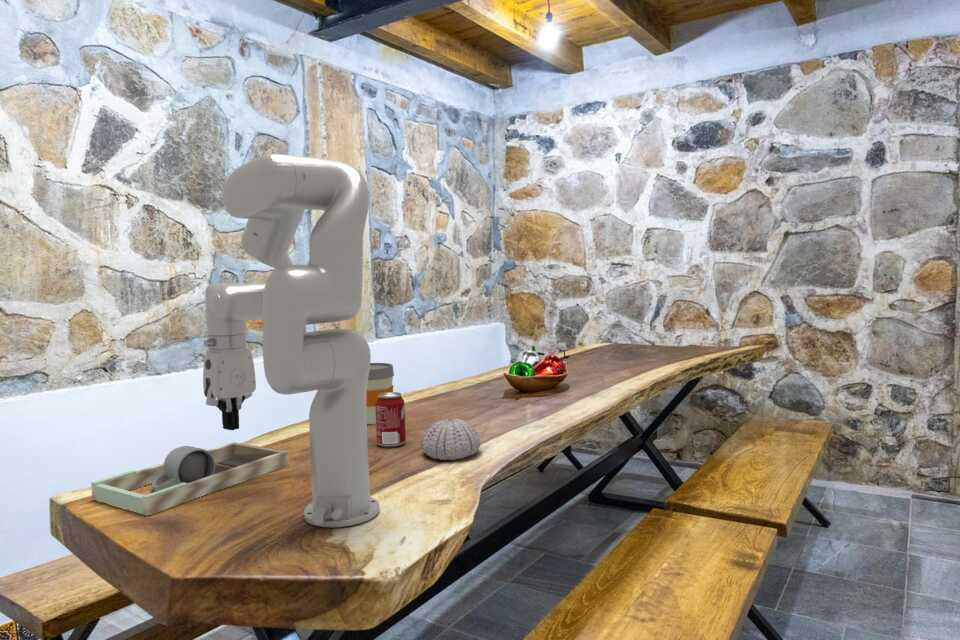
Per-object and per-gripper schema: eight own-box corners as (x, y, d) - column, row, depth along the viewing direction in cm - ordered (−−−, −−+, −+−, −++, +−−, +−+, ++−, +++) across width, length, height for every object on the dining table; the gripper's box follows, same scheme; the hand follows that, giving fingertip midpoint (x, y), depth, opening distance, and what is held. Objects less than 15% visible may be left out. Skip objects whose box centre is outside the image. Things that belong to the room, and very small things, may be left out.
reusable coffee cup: (340, 421, 180) (337, 366, 178) (378, 413, 188) (376, 361, 187) (366, 428, 171) (363, 371, 169) (404, 419, 179) (402, 365, 178)
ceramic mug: (198, 475, 136) (195, 438, 135) (217, 483, 130) (214, 445, 129) (145, 489, 128) (141, 451, 127) (162, 499, 122) (159, 458, 122)
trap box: (147, 516, 113) (146, 499, 113) (92, 500, 122) (91, 484, 122) (288, 465, 141) (287, 451, 140) (235, 455, 149) (234, 442, 149)
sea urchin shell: (427, 466, 138) (426, 429, 137) (416, 449, 151) (415, 415, 150) (488, 460, 141) (487, 423, 141) (472, 443, 154) (471, 410, 154)
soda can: (400, 449, 151) (398, 397, 150) (372, 448, 152) (370, 397, 151) (409, 441, 158) (407, 391, 157) (382, 440, 159) (380, 391, 158)
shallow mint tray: (147, 516, 113) (146, 497, 113) (92, 500, 122) (91, 482, 122) (189, 501, 120) (187, 483, 120) (133, 487, 129) (132, 470, 128)
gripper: (207, 348, 128) (212, 440, 130) (267, 339, 141) (271, 423, 143) (183, 345, 132) (188, 435, 134) (244, 337, 145) (247, 418, 147)
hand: (231, 428), depth 139 cm, fingers closed
